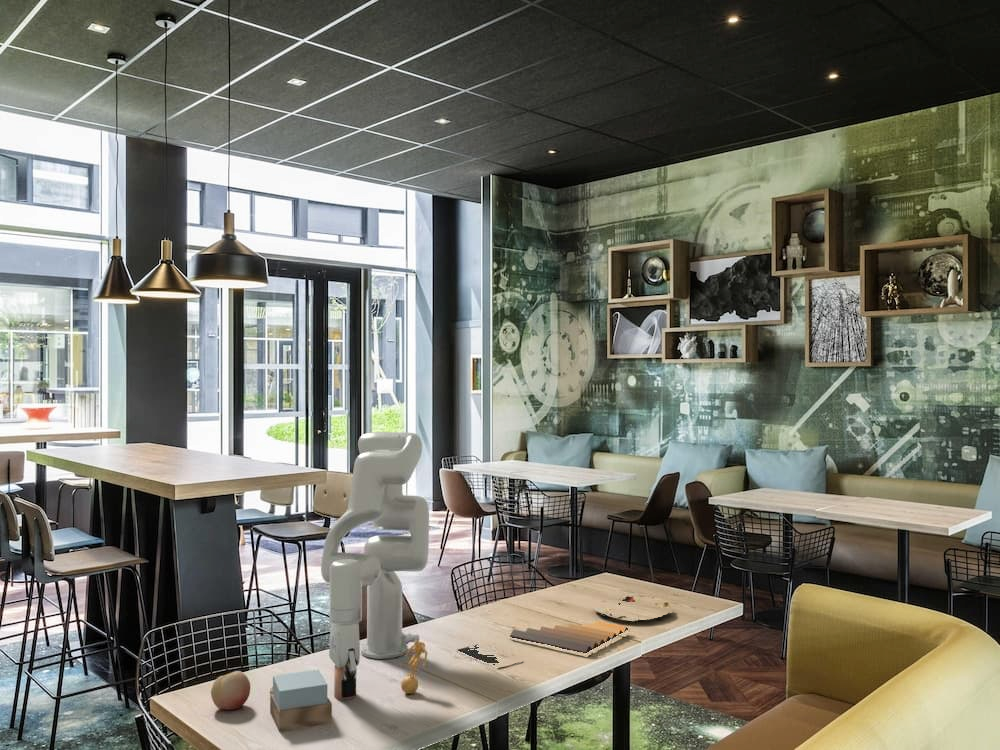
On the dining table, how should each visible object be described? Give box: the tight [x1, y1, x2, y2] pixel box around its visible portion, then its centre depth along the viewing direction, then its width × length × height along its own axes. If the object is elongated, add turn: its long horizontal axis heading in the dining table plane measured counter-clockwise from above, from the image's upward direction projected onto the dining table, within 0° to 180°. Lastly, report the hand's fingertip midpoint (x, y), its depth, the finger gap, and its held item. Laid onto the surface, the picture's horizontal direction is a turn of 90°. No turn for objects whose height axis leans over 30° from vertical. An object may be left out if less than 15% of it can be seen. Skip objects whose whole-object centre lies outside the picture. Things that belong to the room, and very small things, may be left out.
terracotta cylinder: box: [333, 663, 357, 701], centre depth 185 cm, size 5×5×7 cm
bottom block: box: [269, 693, 333, 733], centre depth 173 cm, size 11×11×4 cm
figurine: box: [400, 640, 428, 695], centre depth 187 cm, size 8×6×12 cm
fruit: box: [210, 670, 251, 711], centre depth 178 cm, size 8×8×8 cm
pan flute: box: [509, 620, 629, 653], centre depth 229 cm, size 25×3×25 cm
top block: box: [272, 669, 328, 711], centre depth 173 cm, size 10×10×4 cm
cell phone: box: [457, 644, 499, 665], centre depth 213 cm, size 9×18×1 cm, turn 39°
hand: (345, 691), depth 185 cm, fingers closed on terracotta cylinder, 5 cm apart
